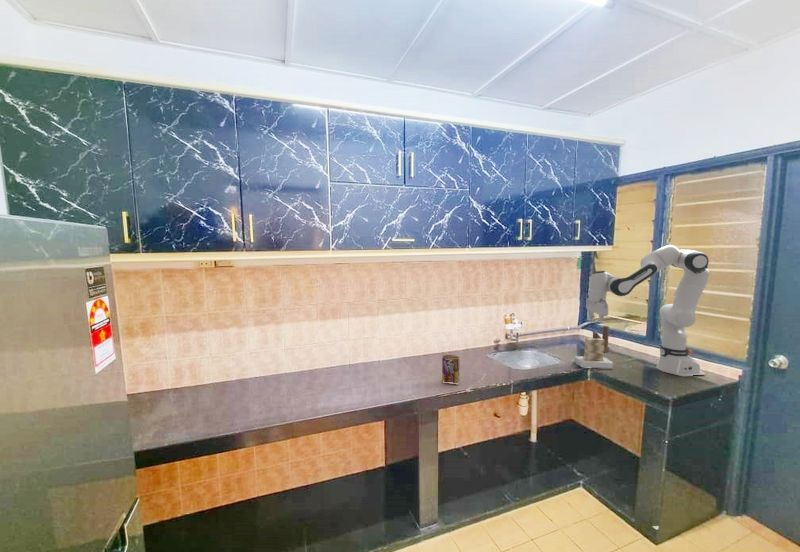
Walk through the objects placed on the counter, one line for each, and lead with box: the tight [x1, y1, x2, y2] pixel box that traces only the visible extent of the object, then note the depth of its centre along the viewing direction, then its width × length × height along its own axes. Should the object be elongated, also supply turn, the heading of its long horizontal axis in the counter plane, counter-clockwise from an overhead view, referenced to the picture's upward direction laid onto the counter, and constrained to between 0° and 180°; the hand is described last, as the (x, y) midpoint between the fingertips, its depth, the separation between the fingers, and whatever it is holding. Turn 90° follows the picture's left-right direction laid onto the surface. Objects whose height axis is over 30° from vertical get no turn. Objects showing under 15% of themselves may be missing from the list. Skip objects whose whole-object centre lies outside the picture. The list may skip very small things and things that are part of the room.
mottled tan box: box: [583, 337, 605, 361], centre depth 205 cm, size 10×3×16 cm, turn 85°
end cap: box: [574, 355, 614, 370], centre depth 205 cm, size 18×10×4 cm, turn 84°
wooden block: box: [592, 325, 610, 353], centre depth 230 cm, size 4×11×18 cm, turn 104°
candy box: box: [441, 354, 461, 383], centre depth 181 cm, size 9×4×15 cm, turn 72°
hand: (596, 320), depth 202 cm, fingers open, 8 cm apart
